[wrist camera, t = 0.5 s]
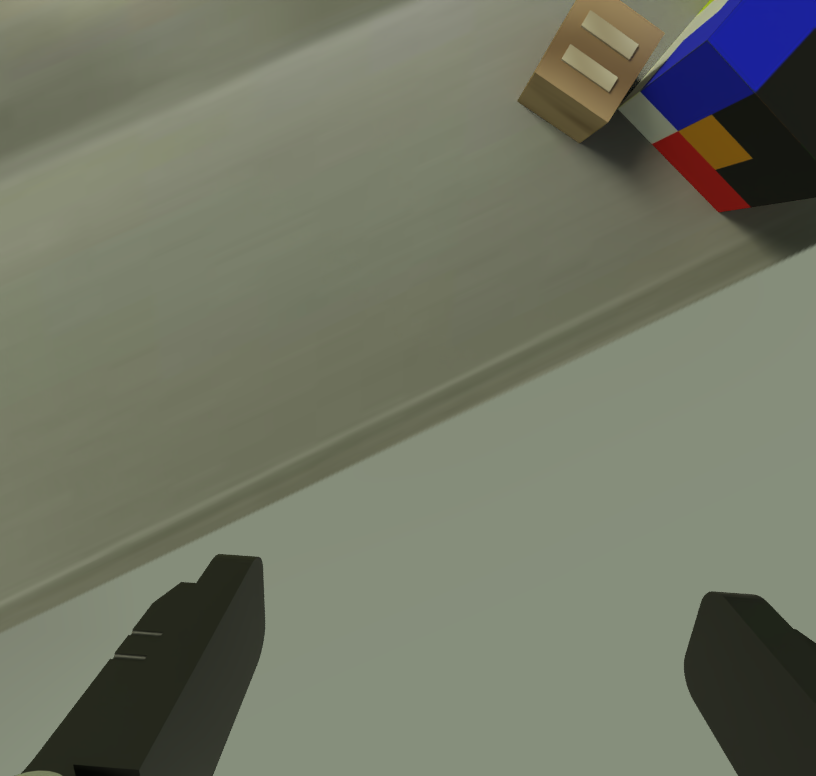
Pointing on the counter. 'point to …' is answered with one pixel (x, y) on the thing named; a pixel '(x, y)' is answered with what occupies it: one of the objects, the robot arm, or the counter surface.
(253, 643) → the robot arm
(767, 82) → the puzzle toy
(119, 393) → the counter surface
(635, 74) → the two bar block
